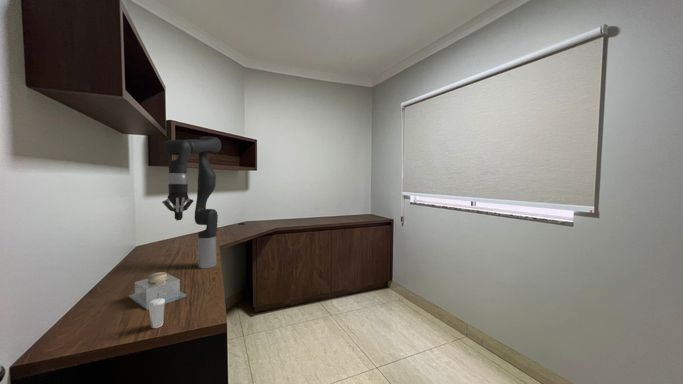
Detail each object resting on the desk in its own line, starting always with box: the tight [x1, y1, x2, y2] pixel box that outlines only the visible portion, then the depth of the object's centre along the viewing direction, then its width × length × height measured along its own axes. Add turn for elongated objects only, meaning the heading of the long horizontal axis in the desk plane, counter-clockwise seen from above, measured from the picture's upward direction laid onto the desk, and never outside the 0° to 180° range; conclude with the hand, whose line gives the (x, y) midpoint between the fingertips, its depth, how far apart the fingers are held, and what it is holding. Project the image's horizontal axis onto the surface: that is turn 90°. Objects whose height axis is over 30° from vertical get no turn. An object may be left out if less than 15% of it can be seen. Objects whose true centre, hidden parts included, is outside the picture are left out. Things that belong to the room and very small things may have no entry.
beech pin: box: [147, 271, 168, 284], centre depth 107 cm, size 6×6×8 cm
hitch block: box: [128, 273, 187, 311], centre depth 107 cm, size 18×14×7 cm
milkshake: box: [148, 293, 166, 329], centre depth 86 cm, size 4×5×10 cm
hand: (178, 220), depth 119 cm, fingers closed
